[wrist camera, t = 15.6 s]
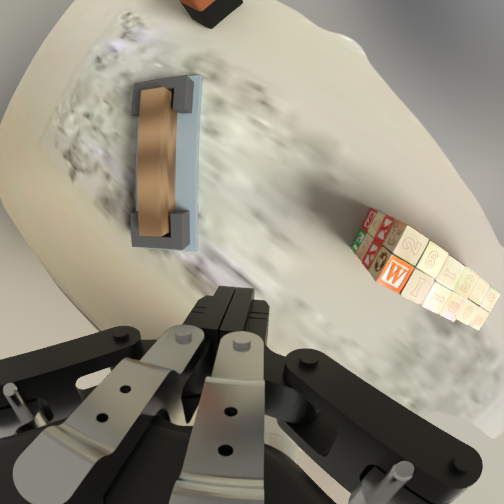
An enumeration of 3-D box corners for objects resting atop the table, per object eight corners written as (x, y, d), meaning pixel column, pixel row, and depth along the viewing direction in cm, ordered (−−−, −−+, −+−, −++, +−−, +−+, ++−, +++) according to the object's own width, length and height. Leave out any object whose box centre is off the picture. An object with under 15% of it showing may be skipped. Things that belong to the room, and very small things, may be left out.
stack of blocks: (468, 271, 34) (513, 303, 23) (449, 304, 36) (488, 343, 24) (370, 206, 34) (407, 223, 22) (348, 248, 36) (375, 282, 24)
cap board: (198, 249, 38) (188, 258, 34) (141, 245, 39) (127, 253, 35) (202, 77, 31) (193, 67, 28) (143, 85, 32) (130, 78, 29)
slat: (176, 228, 37) (160, 236, 32) (156, 227, 37) (139, 235, 32) (178, 96, 32) (163, 86, 27) (158, 99, 32) (141, 90, 27)
